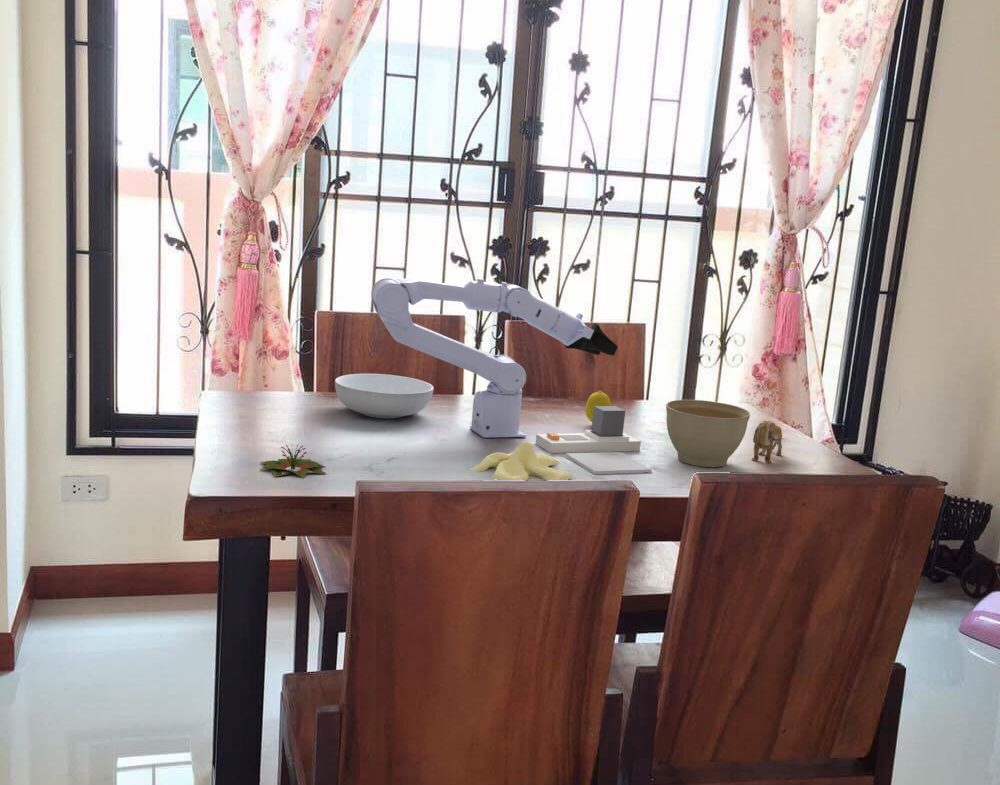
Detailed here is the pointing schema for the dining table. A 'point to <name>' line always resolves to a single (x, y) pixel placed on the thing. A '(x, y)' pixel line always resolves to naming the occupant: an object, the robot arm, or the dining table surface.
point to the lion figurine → (767, 440)
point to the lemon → (596, 403)
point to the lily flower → (293, 464)
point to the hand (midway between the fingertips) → (607, 351)
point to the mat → (608, 463)
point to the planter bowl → (705, 430)
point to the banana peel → (522, 465)
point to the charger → (608, 421)
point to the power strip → (586, 442)
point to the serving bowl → (383, 394)
